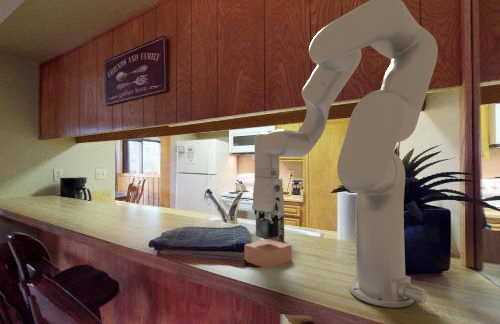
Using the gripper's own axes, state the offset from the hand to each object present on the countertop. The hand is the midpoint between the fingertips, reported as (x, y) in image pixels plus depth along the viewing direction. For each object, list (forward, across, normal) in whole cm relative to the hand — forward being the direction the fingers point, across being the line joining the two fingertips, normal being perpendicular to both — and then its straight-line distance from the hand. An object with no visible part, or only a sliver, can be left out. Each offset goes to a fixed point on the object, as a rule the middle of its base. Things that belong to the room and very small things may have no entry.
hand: (267, 234), depth 80 cm
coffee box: (+8, +14, -14) cm, 21 cm away
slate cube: (+1, 0, 0) cm, 1 cm away
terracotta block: (+8, 0, 0) cm, 8 cm away
